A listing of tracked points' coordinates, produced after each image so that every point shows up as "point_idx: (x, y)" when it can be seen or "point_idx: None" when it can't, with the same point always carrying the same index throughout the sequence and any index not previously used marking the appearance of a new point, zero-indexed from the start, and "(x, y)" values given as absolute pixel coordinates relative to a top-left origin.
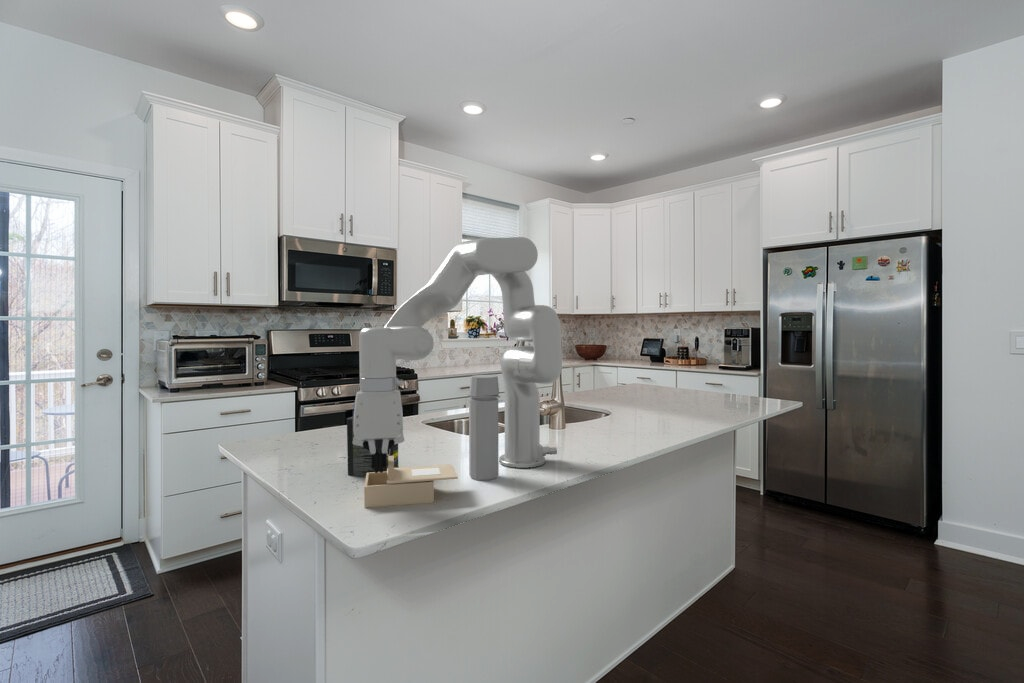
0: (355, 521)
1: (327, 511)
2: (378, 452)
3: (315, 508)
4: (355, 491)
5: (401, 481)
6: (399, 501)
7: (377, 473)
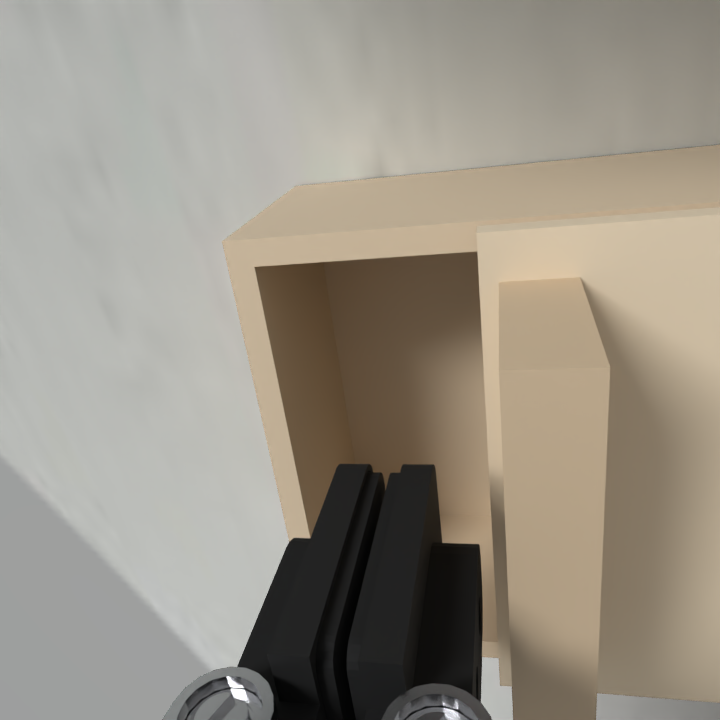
0: None
1: (132, 492)
2: (340, 714)
3: (39, 432)
4: (174, 98)
5: (646, 690)
6: None
7: (357, 257)
